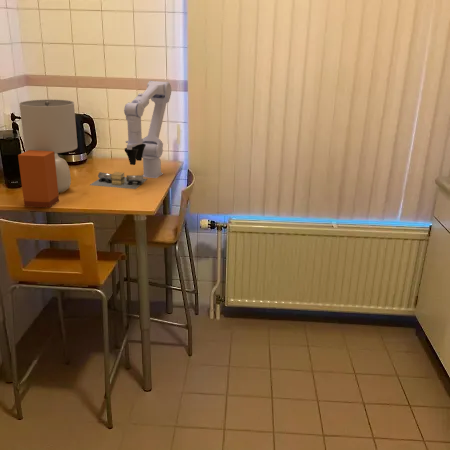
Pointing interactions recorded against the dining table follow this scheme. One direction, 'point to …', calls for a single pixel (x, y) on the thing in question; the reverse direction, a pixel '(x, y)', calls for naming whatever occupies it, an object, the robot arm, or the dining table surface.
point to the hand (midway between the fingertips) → (135, 162)
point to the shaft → (105, 177)
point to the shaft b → (134, 179)
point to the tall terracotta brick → (38, 178)
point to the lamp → (50, 132)
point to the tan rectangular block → (118, 178)
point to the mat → (125, 185)
